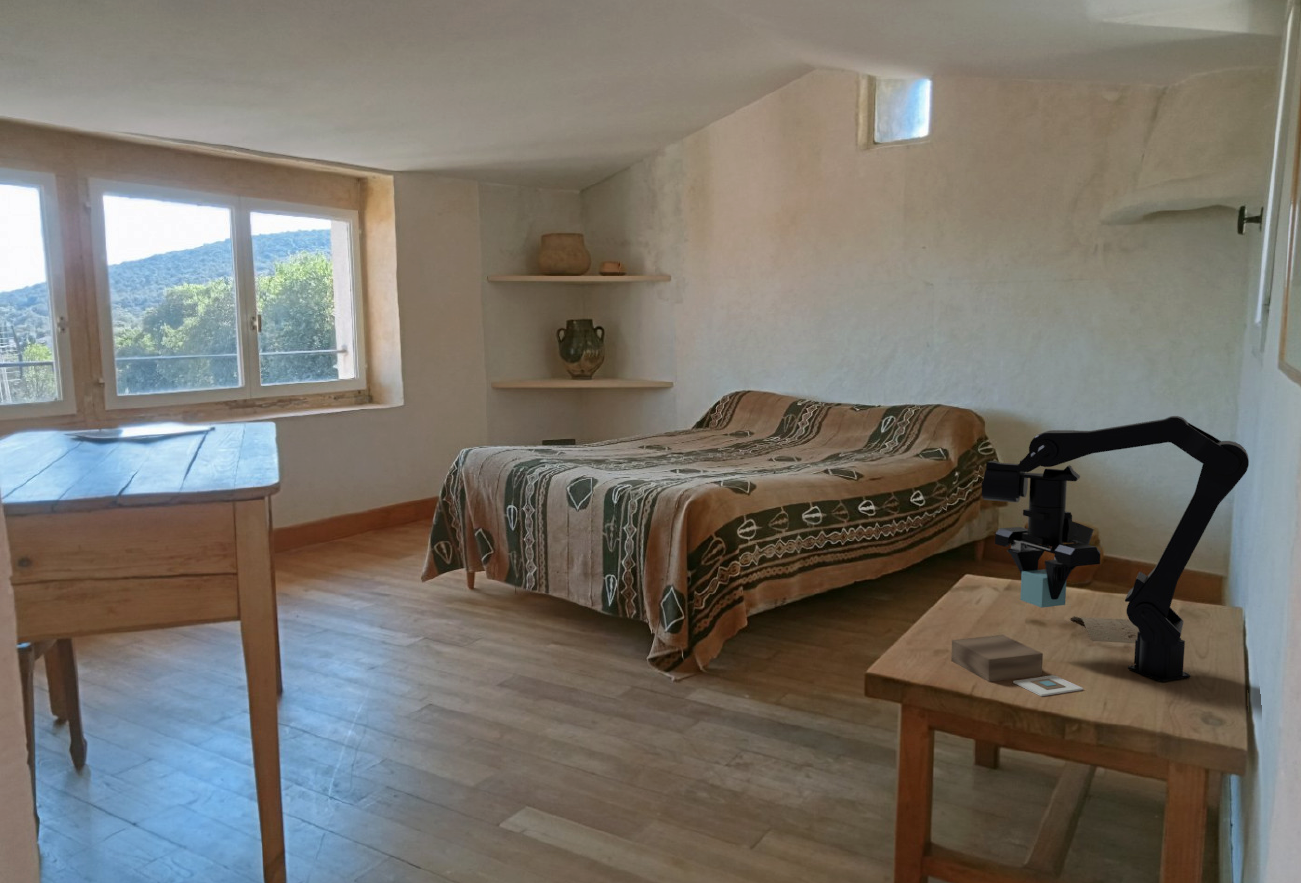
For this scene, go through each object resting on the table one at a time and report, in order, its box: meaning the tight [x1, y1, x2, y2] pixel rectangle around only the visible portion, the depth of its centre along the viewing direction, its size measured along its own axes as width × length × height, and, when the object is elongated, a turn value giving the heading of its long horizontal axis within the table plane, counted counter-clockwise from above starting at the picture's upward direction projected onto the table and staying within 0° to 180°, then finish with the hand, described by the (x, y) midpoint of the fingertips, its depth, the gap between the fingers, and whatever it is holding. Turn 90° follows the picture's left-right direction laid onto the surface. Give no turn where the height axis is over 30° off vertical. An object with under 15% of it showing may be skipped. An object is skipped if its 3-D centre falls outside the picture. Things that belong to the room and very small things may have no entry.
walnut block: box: [950, 634, 1044, 683], centre depth 151 cm, size 10×10×4 cm
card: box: [1013, 674, 1084, 697], centre depth 142 cm, size 6×8×1 cm
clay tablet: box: [1069, 616, 1139, 644], centre depth 170 cm, size 14×10×3 cm
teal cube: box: [1019, 568, 1067, 608], centre depth 156 cm, size 5×5×5 cm
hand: (1043, 595), depth 157 cm, fingers closed on teal cube, 5 cm apart
